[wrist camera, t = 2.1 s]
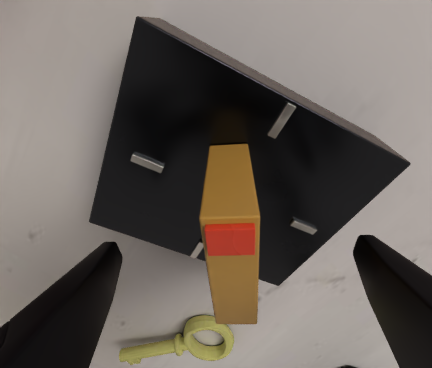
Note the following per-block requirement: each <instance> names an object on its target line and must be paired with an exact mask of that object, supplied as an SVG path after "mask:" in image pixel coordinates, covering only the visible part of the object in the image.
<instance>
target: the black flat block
mask: <svg viewBox="0 0 432 368" xmlns="http://www.w3.org/2000/svg"><path fill="white" fill-rule="evenodd" d="M234 144H248V148H249V154H250V160H251V165H252V171H253V177H254V183H255V189H256V195H257V200H258V206H259V212H260V244H259V278H258V279H260V280H263V281H266V282H268V283H271V284H274V285H277V286H279V285H280V284H281V283H282V282H283V281H284V280H286V279H287V278H288V277H289V276H290V275H291V274H292V273H293V272H294V271H295V270H296V269H297V268H299V267H300V266H301V265H302V264H303V263H304V262H305V261H306V260H307V259H308V258H309V257H311V256H312V255H313V254H314V253H315V252H316V251H317V250H318V249H319V248H320V247H321V246H322V245H324V244H325V243H326V242H327V241H328V240H329V239H330V238H331V237H332V236H333V235H334V234H335V233H337V232H338V231H339V230H340V229H341V228H342V227H343V226H344V225H345V224H346V223H347V222H349V221H350V220H351V219H352V218H353V217H354V216H355V215H356V214H357V213H358V212H359V211H360V210H362V209H363V208H364V207H365V206H366V205H367V204H368V203H369V202H370V201H371V200H372V199H373V198H375V197H376V196H377V195H378V194H379V193H380V192H381V191H382V190H383V189H384V188H385V187H387V186H388V185H389V184H390V183H391V182H392V181H393V180H394V179H395V178H396V177H397V176H398V175H400V174H401V173H402V172H403V171H404V170H405V169H406V168H407V167H408V166H409V165H410V162H409V161H407V160H406V159H405V158H403V157H402V156H401V155H399V154H398V153H397V152H396V151H394V150H393V149H392V148H390V147H389V146H388V145H386V144H385V143H384V142H382V141H381V140H380V139H378V138H377V137H376V136H374V135H372V134H371V133H369V132H367V131H365V130H363V129H361V128H360V127H358V126H356V125H354V124H352V123H350V122H349V121H347V120H345V119H343V118H341V117H339V116H338V115H336V114H334V113H332V112H330V111H328V110H327V109H325V108H323V107H321V106H319V105H317V104H316V103H314V102H312V101H310V100H308V99H307V98H305V97H303V96H301V95H299V94H297V93H296V92H294V91H292V90H290V89H288V88H286V87H285V86H283V85H281V84H279V83H277V82H275V81H274V80H272V79H270V78H268V77H266V76H264V75H263V74H261V73H259V72H257V71H255V70H254V69H252V68H250V67H248V66H246V65H244V64H243V63H241V62H239V61H237V60H235V59H233V58H232V57H230V56H228V55H226V54H224V53H222V52H221V51H219V50H217V49H215V48H213V47H211V46H210V45H208V44H206V43H204V42H202V41H200V40H199V39H197V38H195V37H193V36H191V35H190V34H188V33H186V32H184V31H182V30H180V29H179V28H177V27H175V26H173V25H171V24H169V23H168V22H166V21H164V20H162V19H160V18H151V17H139V16H137V17H136V20H135V25H134V29H133V33H132V38H131V42H130V46H129V51H128V55H127V59H126V64H125V68H124V72H123V77H122V81H121V85H120V89H119V94H118V98H117V102H116V107H115V111H114V115H113V120H112V124H111V128H110V133H109V137H108V141H107V146H106V150H105V154H104V159H103V163H102V167H101V172H100V176H99V180H98V185H97V189H96V193H95V198H94V202H93V206H92V211H91V215H90V219H89V222H90V223H93V224H96V225H99V226H102V227H105V228H108V229H111V230H114V231H117V232H120V233H123V234H126V235H129V236H132V237H135V238H138V239H141V240H144V241H147V242H150V243H153V244H156V245H159V246H162V247H165V248H167V249H170V250H173V251H176V252H179V253H182V254H185V255H188V256H190V257H192V258H194V259H196V258H197V259H200V260H203V261H206V259H205V253H204V247H203V241H202V234H201V228H200V222H199V215H200V208H201V201H202V194H203V187H204V181H205V174H206V167H207V160H208V153H209V147H210V146H216V145H234Z"/></svg>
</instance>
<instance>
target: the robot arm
mask: <svg viewBox="0 0 432 368" xmlns="http://www.w3.org/2000/svg"><path fill="white" fill-rule="evenodd" d="M353 256H354V259H355V262H356V265H357V268H358V271H359V274H360V277H361V280H362V283H363V286H364V289H365V292H366V295H367V297H368V300H369V302H370V304H371V307H372V309H373V311H374V313H375V315H376V317H377V320H378V322H379V324H380V326H381V328H382V331H383V333H384V335H385V337H386V339H387V341H388V344H389V346H390V348H391V350H392V352H393V354H394V357H395V359H396V361H397V363H398V365H399V367H400V368H432V275H430V274H429V273H427V272H426V271H424V270H423V269H421V268H420V267H418V266H417V265H415V264H414V263H413V262H411V261H410V260H408V259H407V258H405V257H404V256H402V255H401V254H399V253H398V252H396V251H395V250H394V249H392V248H391V247H389V246H388V245H386V244H385V243H383V242H382V241H380V240H379V239H378V238H376V237H375V236H373V235H360V236H359V237H358V238H357V241H356V244H355V247H354V250H353ZM121 265H122V254H121V252H120V250H119V247H118V245H117V243H116V242H104V243H103V244H101V245H100V246H99V247H98V248H97V249H95V250H94V251H93V252H92V253H90V254H89V255H88V256H87V257H86V258H84V259H83V260H82V261H81V262H79V263H78V264H77V265H76V266H75V267H73V268H72V269H71V270H70V271H69V272H67V273H66V274H65V275H64V276H62V277H61V278H60V279H59V280H58V281H56V282H55V283H54V284H53V285H52V286H50V287H49V288H48V289H47V290H45V291H44V292H43V293H42V294H41V295H39V296H38V297H37V298H36V299H34V300H33V301H32V302H31V303H30V304H28V305H27V306H26V307H25V308H24V309H22V310H21V311H20V312H19V313H17V314H16V315H15V316H14V317H13V318H11V319H10V321H8V322H6V323H5V324H4V325H3V326H2V327H0V368H89V366H90V363H91V360H92V357H93V355H94V352H95V349H96V346H97V343H98V341H99V338H100V335H101V332H102V329H103V327H104V324H105V321H106V318H107V315H108V312H109V310H110V307H111V304H112V301H113V297H114V294H115V290H116V285H117V281H118V277H119V273H120V269H121ZM345 368H353V367H345Z"/></svg>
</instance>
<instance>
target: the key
mask: <svg viewBox="0 0 432 368" xmlns="http://www.w3.org/2000/svg"><path fill="white" fill-rule="evenodd" d="M201 330H212V331H215V332H217V333H219V334H221V335H222V336H223V337H224V343H223V344H221V345H219V346H205V345H203V344H201V343H199V342H198V341H197V340H196V339H195V338H194V337H193V335H192V334H194V333H195V332H198V331H201ZM233 344H234V337H233V334H232V332H231V331H230V329H229V327H228V326H227V325H226V324H216V322H215V317H213V316H208V315H201V316H196V317H193V318H191V319H190V320H188V321H187V323H186V325H185V329H184V337H182V335H181V334H177V335H176V336H175V339H170V340H165V341H159V342H154V343H149V344H143V345H138V346H133V347H127V348H122V349H121V350H120V353H119V360H120V362H125V361H127V362H128V363H129V364H130V365H133V363H134V364H135V363H136V364H139V363H140V361H141V358H146V357H152V356H157V355H163V354H168V353H174V352H175V353H176V355H177V356H181V355H182V353H183V351H185V350H188V351H189V352H190V353H191V354H192V355H193V356H195V357H197V358H199V359H202V360H208V361H214V360H219V359H222V358H224V357H226V356H227V355H228V354H229V353H230V352H231V350H232V347H233Z"/></svg>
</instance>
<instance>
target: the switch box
mask: <svg viewBox="0 0 432 368" xmlns="http://www.w3.org/2000/svg"><path fill="white" fill-rule="evenodd" d="M199 222H200V228H201V234H202V241H203V247H204V253H205V259H206V266H207V272H208V278H209V284H210V290H211V297H212V303H213V309H214V315H215V322H216V324H257V312H258V278H259V244H260V212H259V206H258V200H257V195H256V189H255V183H254V177H253V171H252V165H251V160H250V154H249V148H248V144H234V145H216V146H210V147H209V153H208V160H207V167H206V174H205V181H204V187H203V194H202V201H201V208H200V215H199Z"/></svg>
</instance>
